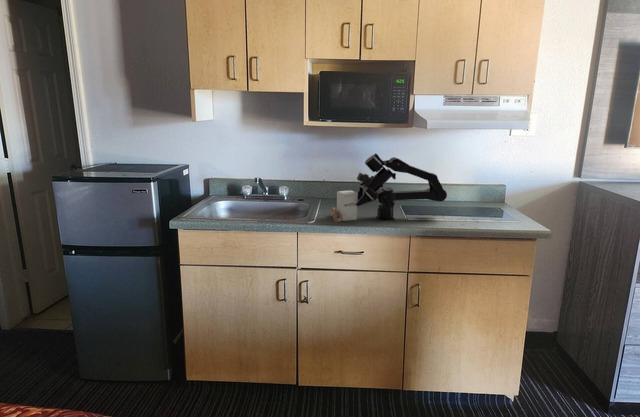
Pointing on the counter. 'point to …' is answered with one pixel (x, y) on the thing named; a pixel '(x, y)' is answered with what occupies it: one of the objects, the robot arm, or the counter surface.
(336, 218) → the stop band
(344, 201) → the supplement box
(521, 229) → the counter surface
